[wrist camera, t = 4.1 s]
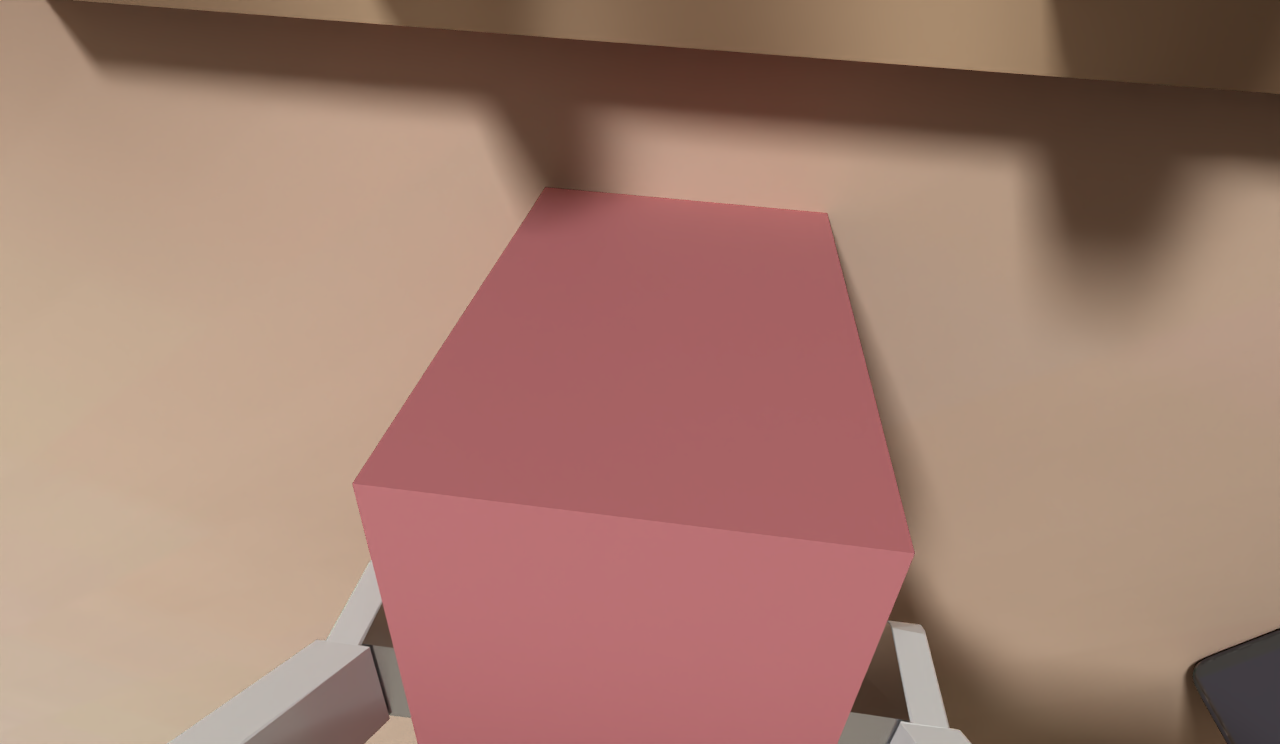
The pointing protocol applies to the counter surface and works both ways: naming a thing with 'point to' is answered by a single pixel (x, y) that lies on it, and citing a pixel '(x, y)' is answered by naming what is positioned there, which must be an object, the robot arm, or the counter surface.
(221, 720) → the robot arm
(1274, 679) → the stepped charcoal slab
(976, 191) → the counter surface
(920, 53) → the wooden shelf rack
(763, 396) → the boxed book
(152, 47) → the counter surface
